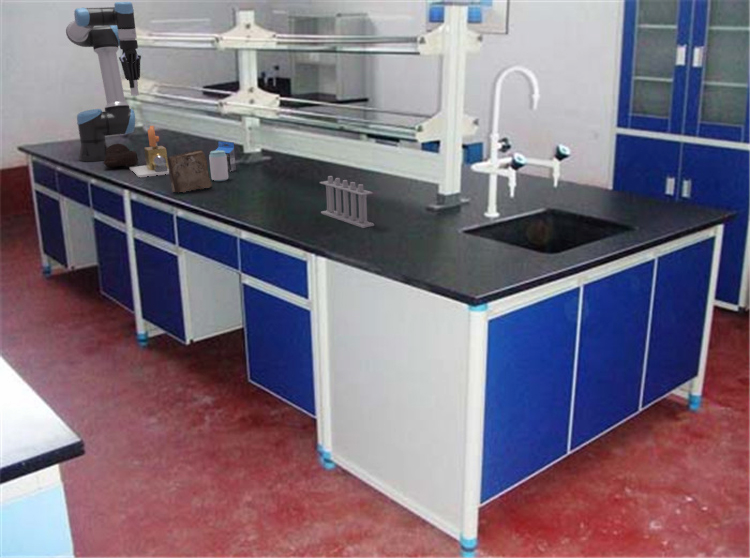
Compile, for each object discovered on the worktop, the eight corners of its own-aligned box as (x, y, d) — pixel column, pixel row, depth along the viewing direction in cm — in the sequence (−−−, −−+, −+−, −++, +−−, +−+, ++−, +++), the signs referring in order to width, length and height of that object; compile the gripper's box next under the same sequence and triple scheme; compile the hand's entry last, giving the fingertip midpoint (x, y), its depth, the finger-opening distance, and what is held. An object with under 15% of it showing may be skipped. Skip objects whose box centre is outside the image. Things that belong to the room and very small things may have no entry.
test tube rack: (374, 225, 249) (373, 185, 245) (362, 228, 247) (361, 187, 242) (331, 211, 268) (329, 173, 264) (320, 213, 266) (318, 175, 261)
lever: (149, 140, 345) (147, 124, 342) (159, 140, 346) (157, 124, 343) (147, 146, 329) (145, 130, 327) (158, 146, 330) (156, 129, 328)
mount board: (129, 169, 352) (129, 167, 351) (176, 164, 360) (175, 162, 360) (139, 177, 333) (138, 175, 333) (187, 172, 342) (187, 169, 341)
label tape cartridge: (214, 170, 343) (212, 142, 339) (220, 168, 347) (217, 141, 343) (231, 171, 339) (228, 143, 335) (236, 170, 343) (234, 142, 339)
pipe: (133, 150, 348) (136, 140, 361) (99, 154, 346) (103, 145, 359) (138, 170, 352) (141, 160, 365) (104, 175, 350) (108, 165, 364)
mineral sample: (209, 186, 312) (205, 148, 307) (214, 188, 309) (210, 150, 304) (169, 192, 303) (165, 154, 298) (173, 194, 300) (169, 155, 295)
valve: (144, 165, 354) (140, 140, 350) (161, 163, 357) (158, 138, 353) (153, 172, 337) (149, 146, 333) (171, 170, 340) (168, 144, 336)
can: (228, 177, 327) (226, 149, 323) (228, 181, 321) (225, 152, 317) (211, 178, 326) (209, 150, 322) (211, 182, 320) (208, 153, 316)
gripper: (126, 40, 329) (133, 97, 336) (144, 38, 341) (150, 93, 348) (111, 40, 331) (118, 96, 339) (129, 39, 343) (136, 93, 351)
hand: (135, 95), depth 344 cm, fingers closed
